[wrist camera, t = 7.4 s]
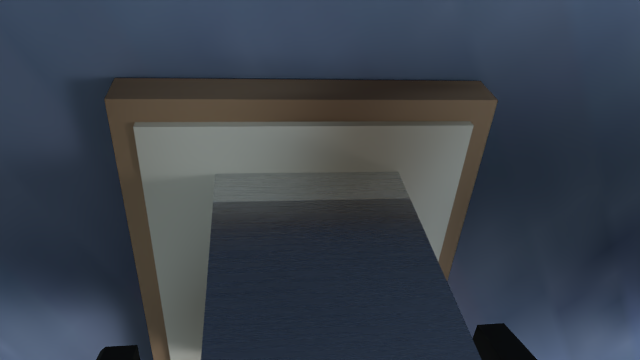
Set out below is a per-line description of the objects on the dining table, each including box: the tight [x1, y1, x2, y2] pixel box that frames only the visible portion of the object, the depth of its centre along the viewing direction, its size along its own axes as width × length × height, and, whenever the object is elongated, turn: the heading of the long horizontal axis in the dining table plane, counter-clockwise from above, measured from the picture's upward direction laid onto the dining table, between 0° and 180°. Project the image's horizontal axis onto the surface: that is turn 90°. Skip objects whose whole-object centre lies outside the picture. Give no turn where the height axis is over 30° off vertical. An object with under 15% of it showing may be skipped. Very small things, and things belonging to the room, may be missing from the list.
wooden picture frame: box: [104, 78, 498, 360], centre depth 14 cm, size 8×10×1 cm
